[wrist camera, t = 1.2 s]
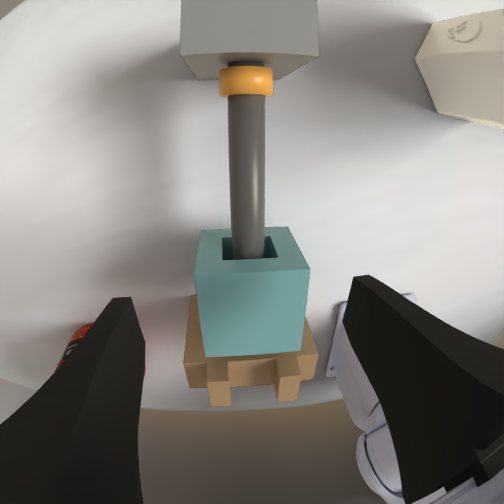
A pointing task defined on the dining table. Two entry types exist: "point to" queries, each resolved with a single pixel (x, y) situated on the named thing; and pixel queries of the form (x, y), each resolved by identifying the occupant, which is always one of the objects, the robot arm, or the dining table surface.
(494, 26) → the jar
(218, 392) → the rod peg assembly
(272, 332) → the sleeve
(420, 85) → the dining table surface
